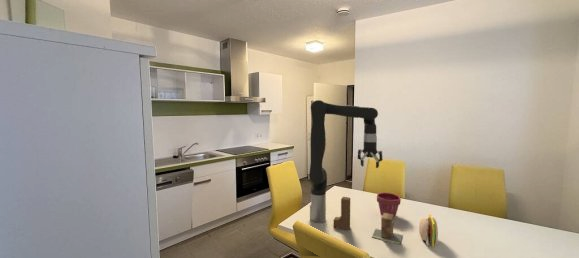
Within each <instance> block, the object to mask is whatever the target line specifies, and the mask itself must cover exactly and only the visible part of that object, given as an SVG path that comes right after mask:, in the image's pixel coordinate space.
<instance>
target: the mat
mask: <svg viewBox="0 0 579 258" xmlns="http://www.w3.org/2000/svg"><path fill="white" fill-rule="evenodd" d="M371 238H373V239H377V240H381V241H385V242H387V243H393V244H396V245H401V243H402V239H403V234H401V233H397V232H393V236H392V238H391V240H390V239H386V238H382V237H381V228H375V230H374V232H373V234H372V236H371Z"/></svg>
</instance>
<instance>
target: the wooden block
mask: <svg viewBox="0 0 579 258" xmlns="http://www.w3.org/2000/svg"><path fill="white" fill-rule="evenodd" d="M333 228H337V229H342V230H346V231H349V229H350V228H351V197H350V196H349V197H348V196H342V197H341V199H340V216H336V217H334V219H333Z"/></svg>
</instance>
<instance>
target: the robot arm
mask: <svg viewBox="0 0 579 258" xmlns="http://www.w3.org/2000/svg"><path fill="white" fill-rule="evenodd" d="M310 113H311V129H310V147H309V148H310V165H309V176H308V177H309V180H310V182H311V183H312V185H311V188H310V199H311V200H310V204H309V220H311V221H312V222H314V223H319V224H320V223H324V222H326V221H327V219H326V218H327V213H326V212H327V204H326V203H327V202H326V201H327V197H326V196H327V191H326V190H327V185H328V174H327V171H326V168H323V161H324V156H325V153H326V152H325V151H326V146H327V145H326V141H327V140H326V128H325V126H326V125H325V120H326V115H333V116H334V115H335V116H341V117H346V118H356V119H358V118H359V119H363V124H364V125H363V126H364V127H363V128H364V129H363V149H360V148H359V149H358V150H357V159H358V160H360V166H361V167H364V165H365V164H364V163H365V162H364V159H365V158H370V159H371V158H373V159H374V160H375V168H376V169H378V168H379V167H380V162H382V161H383V160H384V159H383V151H382V150H378V149H377V145H378V143H377V141H378V138H377V124H376V121H375V120H376V118H377V117H378V116H379V112H378V110H377V109H376V108H374V107H368V106H367V107H365V106H364V107H363V106H357V105H350V104H333V103H328V102H325V101H323V100H321V99H316V100H314V101H313V102H312V103H311V104H310ZM362 153H363V155H361V154H362ZM377 154H378V156H379V157H378V156H377ZM361 156H362V157H361Z"/></svg>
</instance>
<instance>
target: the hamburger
mask: <svg viewBox="0 0 579 258" xmlns="http://www.w3.org/2000/svg"><path fill="white" fill-rule="evenodd" d="M418 224H419V225H418V232H419V235H420V238H421V239H422V240H423V241H425V244H426V246H429V242H430V244H431V247H433V248H434V247H435V244H436V243H437V241H438V239H439V238H438V236H439V230H438V222H437V219H436V218H435V217H433V216H432V213H429V214H428V218H427V217H426V216H423V217H422V218H421V219H420V221H419V223H418Z"/></svg>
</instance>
